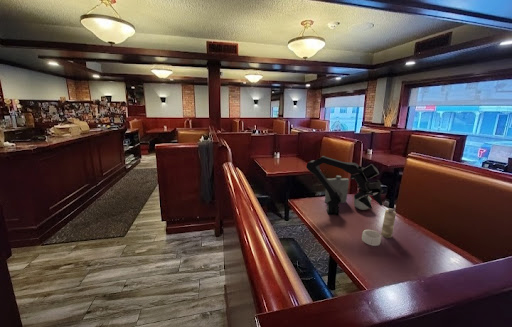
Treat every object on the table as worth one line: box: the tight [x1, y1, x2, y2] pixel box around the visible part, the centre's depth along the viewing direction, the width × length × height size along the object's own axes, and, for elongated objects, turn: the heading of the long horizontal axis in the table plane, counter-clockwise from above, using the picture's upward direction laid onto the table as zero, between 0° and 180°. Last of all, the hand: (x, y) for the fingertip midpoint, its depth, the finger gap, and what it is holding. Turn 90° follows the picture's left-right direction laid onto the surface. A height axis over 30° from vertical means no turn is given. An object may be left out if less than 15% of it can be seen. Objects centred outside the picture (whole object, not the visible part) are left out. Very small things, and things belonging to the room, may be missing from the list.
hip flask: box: [324, 175, 350, 204], centre depth 161 cm, size 16×4×20 cm, turn 95°
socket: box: [361, 229, 383, 247], centre depth 117 cm, size 8×8×4 cm
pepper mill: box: [380, 207, 397, 239], centre depth 120 cm, size 5×5×16 cm
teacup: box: [353, 195, 372, 211], centre depth 154 cm, size 14×11×8 cm
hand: (376, 206), depth 126 cm, fingers open, 9 cm apart
